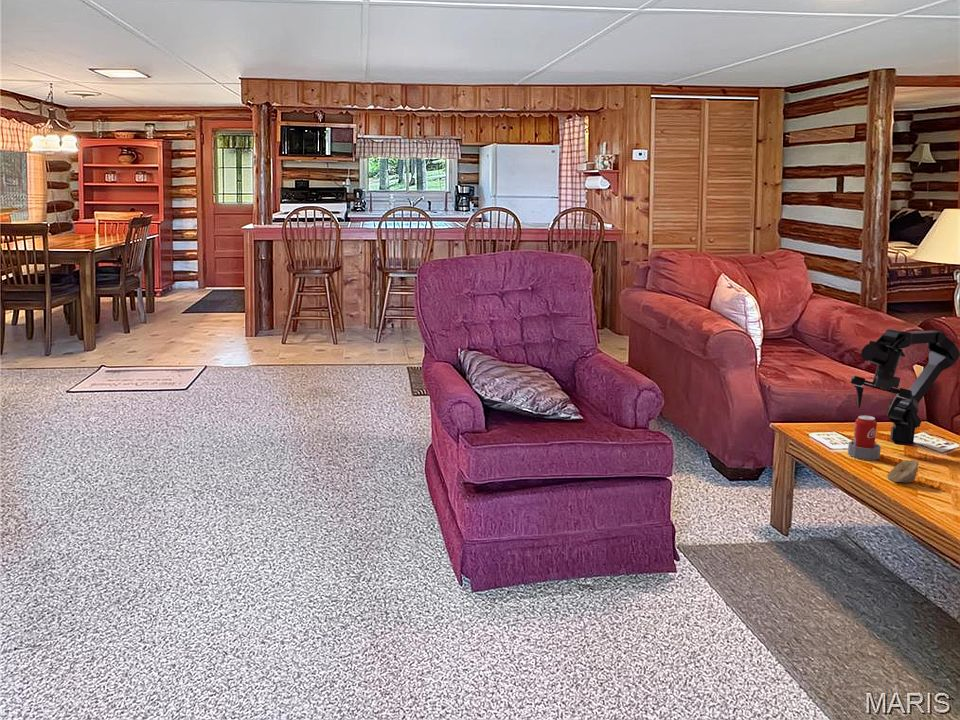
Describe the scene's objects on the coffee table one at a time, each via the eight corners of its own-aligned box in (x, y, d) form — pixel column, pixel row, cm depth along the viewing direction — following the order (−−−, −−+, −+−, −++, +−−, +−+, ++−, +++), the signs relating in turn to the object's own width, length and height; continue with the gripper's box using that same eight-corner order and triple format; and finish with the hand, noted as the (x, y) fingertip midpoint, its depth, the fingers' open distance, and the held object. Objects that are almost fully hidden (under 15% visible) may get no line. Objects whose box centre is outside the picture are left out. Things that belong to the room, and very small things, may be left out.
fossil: (902, 456, 270) (922, 459, 260) (911, 467, 270) (932, 470, 260) (881, 477, 269) (901, 481, 259) (890, 488, 269) (910, 492, 259)
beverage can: (873, 457, 286) (877, 420, 283) (851, 454, 288) (855, 418, 286) (873, 452, 291) (877, 416, 289) (852, 449, 294) (856, 414, 292)
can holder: (875, 453, 293) (876, 441, 293) (882, 461, 284) (883, 449, 284) (845, 451, 295) (846, 439, 294) (851, 459, 286) (852, 447, 285)
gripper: (859, 359, 293) (845, 405, 294) (920, 374, 287) (905, 421, 288) (856, 359, 303) (843, 403, 304) (915, 374, 297) (901, 419, 298)
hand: (873, 412), depth 298 cm, fingers open, 9 cm apart
